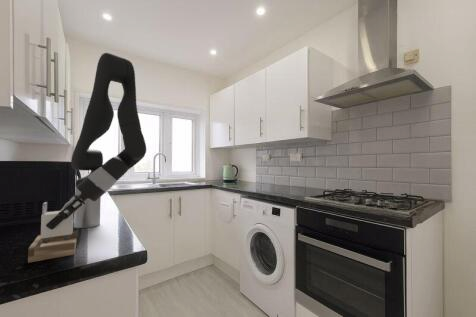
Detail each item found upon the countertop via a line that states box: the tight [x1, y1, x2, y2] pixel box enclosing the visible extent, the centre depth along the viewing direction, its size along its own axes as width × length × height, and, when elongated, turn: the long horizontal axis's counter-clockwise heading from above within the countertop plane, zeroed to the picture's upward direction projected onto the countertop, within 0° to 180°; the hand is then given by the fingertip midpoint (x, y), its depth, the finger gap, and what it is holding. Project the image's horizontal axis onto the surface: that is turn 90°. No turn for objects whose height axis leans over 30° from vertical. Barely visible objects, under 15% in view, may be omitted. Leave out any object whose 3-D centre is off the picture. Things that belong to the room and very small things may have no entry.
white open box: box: [40, 201, 74, 243], centre depth 68 cm, size 5×7×12 cm
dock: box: [27, 231, 78, 264], centre depth 68 cm, size 14×10×4 cm
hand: (50, 225), depth 67 cm, fingers closed on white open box, 5 cm apart
